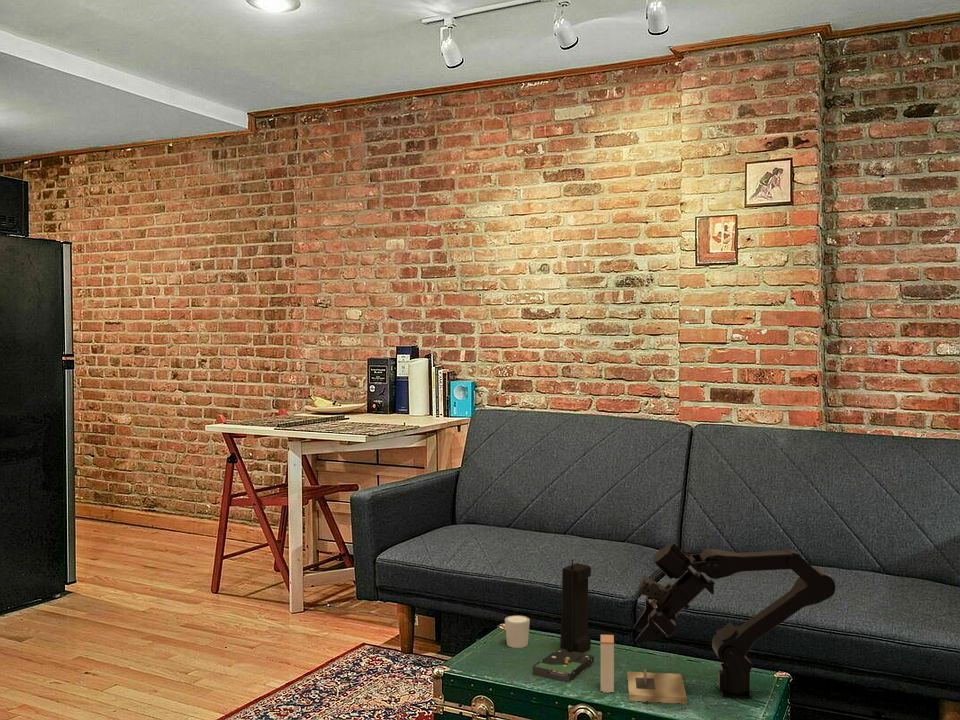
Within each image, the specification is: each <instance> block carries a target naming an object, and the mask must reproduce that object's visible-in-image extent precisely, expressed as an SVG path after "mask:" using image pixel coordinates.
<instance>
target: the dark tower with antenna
mask: <svg viewBox="0 0 960 720" xmlns="http://www.w3.org/2000/svg"><path fill="white" fill-rule="evenodd" d="M591 569H592V567H591V565H588V564H583V563H579V562H578V563H577V562H575V563H574V559H571V564H570V565H567V566H564V567H563V568H562V571H561V572H562V573H561V575H562V577H561V580H562V582H561V583H562V585H561V589H562V591H561V594H562V595H561V598H562V599H561V600H562V603H561V607H562V608H561V618H560V641H559V648H561V649H565V650H567V651H568V652H574V651H575V652H579V653H582V652H584V651H586V650H587V651H589V650H591V648H592V647H591V644H592V642H591V639H592V638H591V637H590V635H589V577H591V576H592V570H591ZM588 649H589V650H588ZM587 651H586V652H587ZM584 653H585V652H584Z"/></svg>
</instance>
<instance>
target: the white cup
mask: <svg viewBox="0 0 960 720" xmlns="http://www.w3.org/2000/svg"><path fill="white" fill-rule="evenodd" d="M530 622H531V620H530V618H529V617H528V616H525V615H509V616H506V617H505V618H504V626H505V637H506V645H507V646H508V647H510V648H513V649H521V648H525V647H528V643H529V634H530V633H529V632H530Z"/></svg>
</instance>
